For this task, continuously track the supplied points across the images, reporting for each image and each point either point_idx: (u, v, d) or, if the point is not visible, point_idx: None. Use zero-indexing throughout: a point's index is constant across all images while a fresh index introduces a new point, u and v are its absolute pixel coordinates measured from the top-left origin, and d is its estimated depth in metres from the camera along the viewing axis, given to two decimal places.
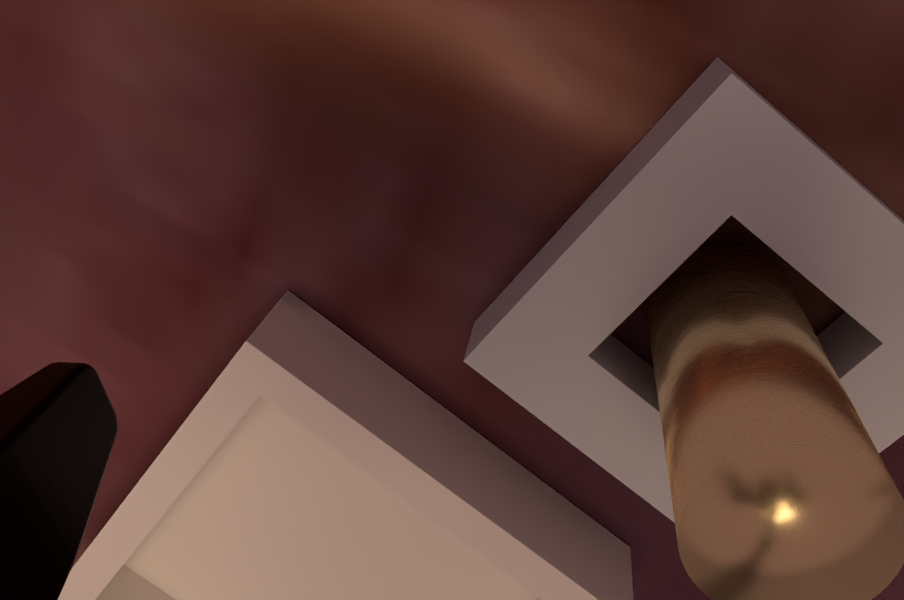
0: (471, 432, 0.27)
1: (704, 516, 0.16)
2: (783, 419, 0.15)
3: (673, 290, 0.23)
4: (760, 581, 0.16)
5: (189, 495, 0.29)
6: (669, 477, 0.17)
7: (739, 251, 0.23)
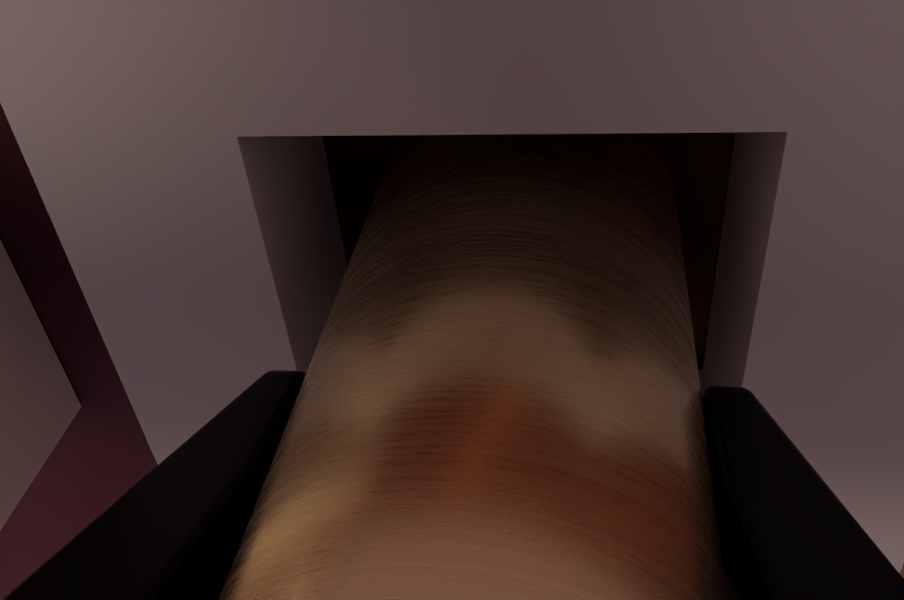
0: None
1: None
2: None
3: (515, 153, 0.09)
4: None
5: None
6: None
7: (661, 174, 0.10)
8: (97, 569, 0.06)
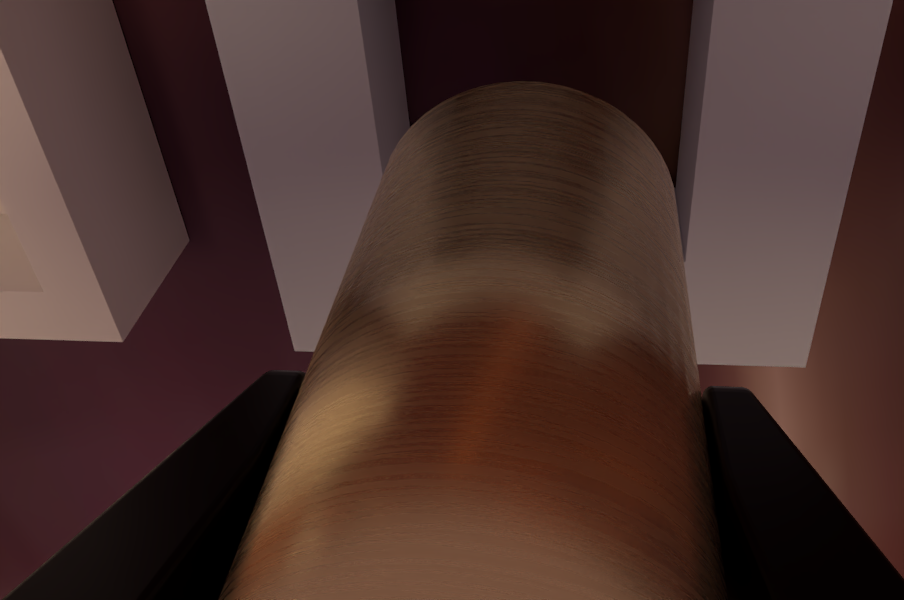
0: None
1: None
2: None
3: (514, 153, 0.09)
4: None
5: None
6: None
7: (661, 172, 0.10)
8: (97, 569, 0.06)
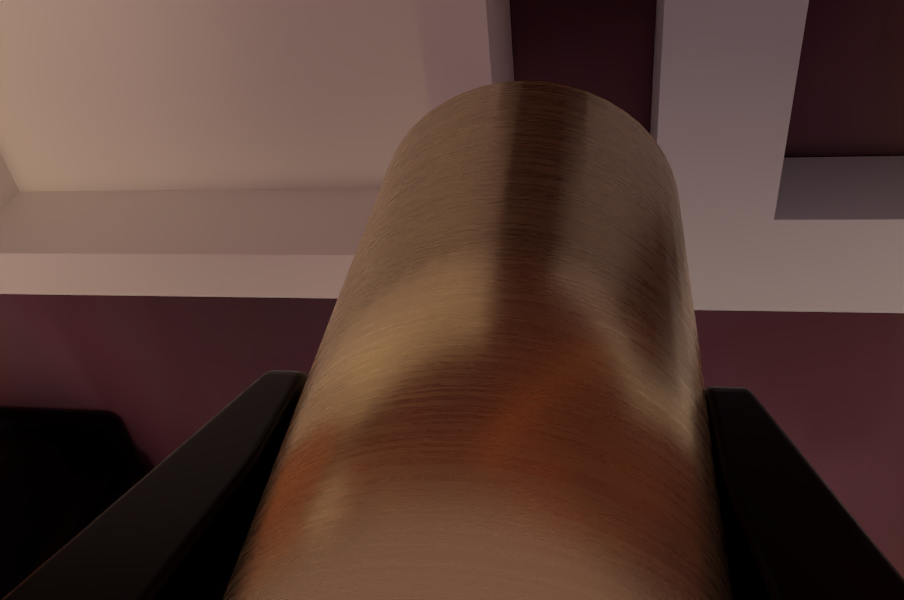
0: None
1: None
2: None
3: (518, 153, 0.09)
4: None
5: None
6: None
7: (665, 172, 0.10)
8: (97, 569, 0.06)
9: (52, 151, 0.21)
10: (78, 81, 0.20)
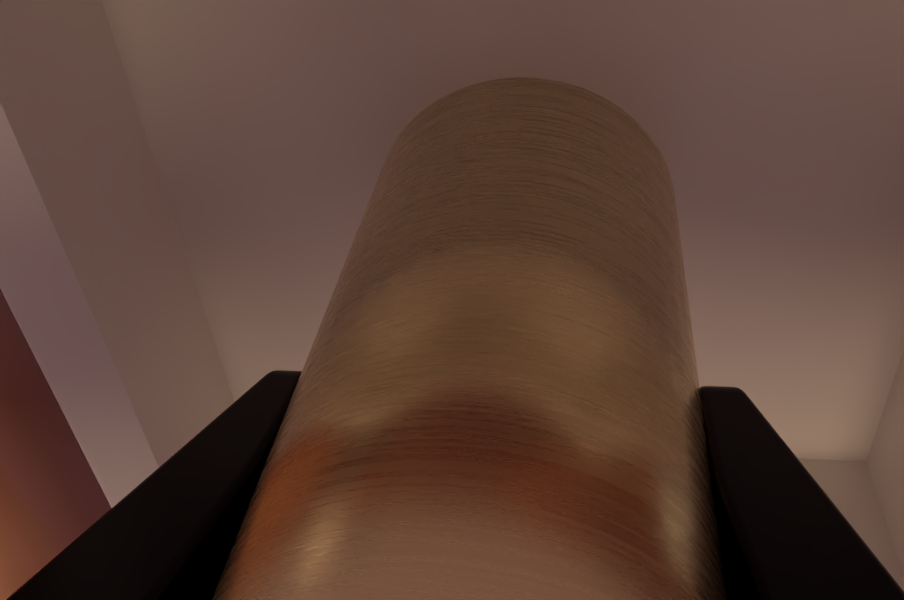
0: None
1: None
2: None
3: (513, 149, 0.09)
4: None
5: None
6: None
7: (659, 169, 0.10)
8: (101, 570, 0.06)
9: None
10: None
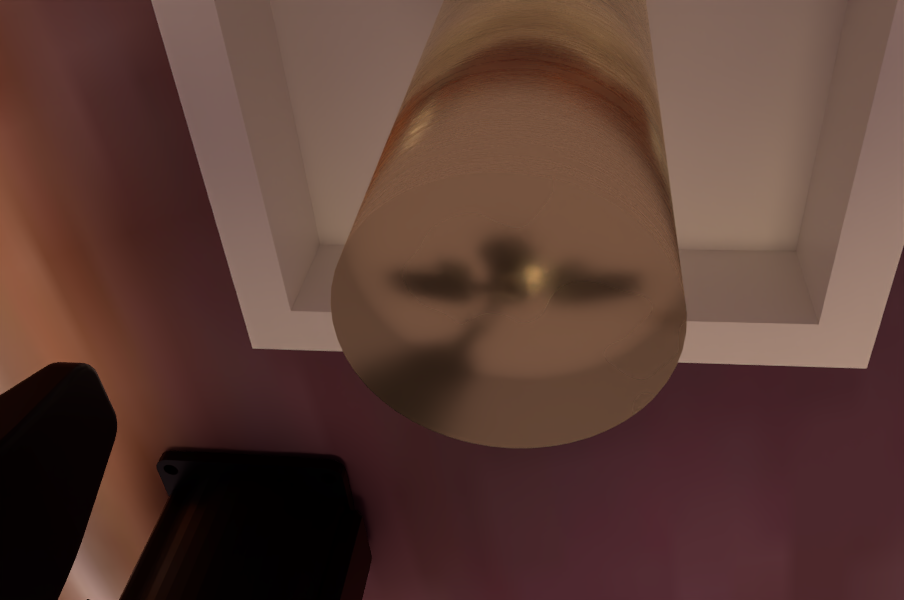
0: None
1: (429, 219, 0.09)
2: (634, 179, 0.09)
3: None
4: (415, 346, 0.10)
5: None
6: (399, 135, 0.10)
7: None
8: None
9: None
10: None
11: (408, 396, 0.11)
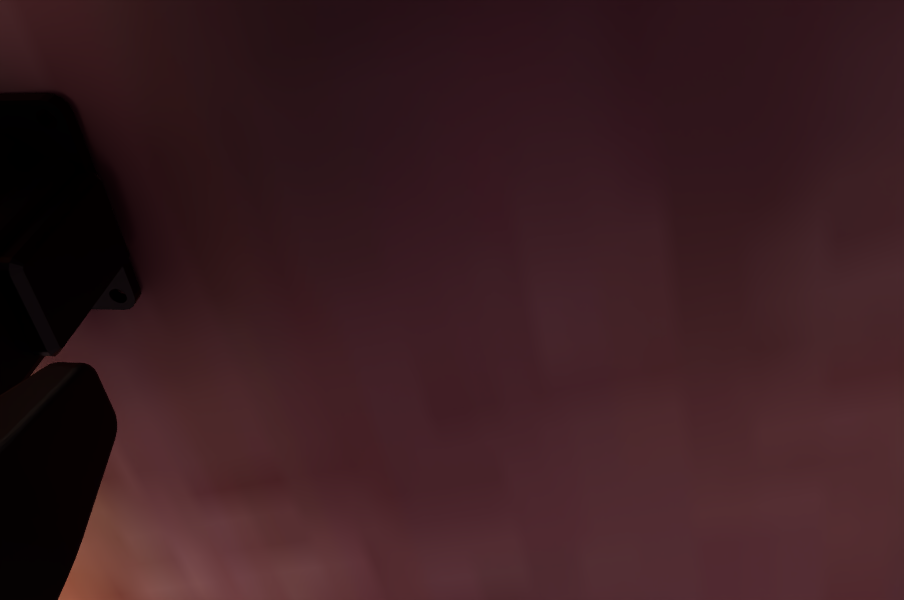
0: None
1: None
2: None
3: None
4: None
5: None
6: None
7: None
8: None
9: None
10: None
11: None
